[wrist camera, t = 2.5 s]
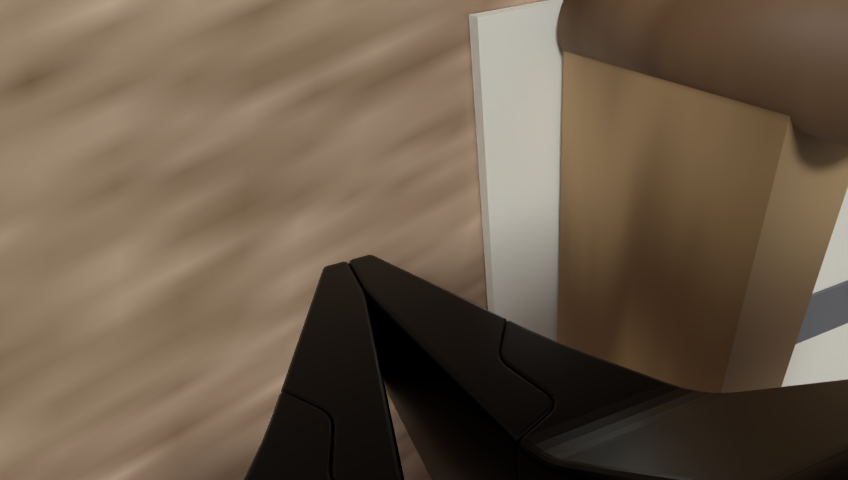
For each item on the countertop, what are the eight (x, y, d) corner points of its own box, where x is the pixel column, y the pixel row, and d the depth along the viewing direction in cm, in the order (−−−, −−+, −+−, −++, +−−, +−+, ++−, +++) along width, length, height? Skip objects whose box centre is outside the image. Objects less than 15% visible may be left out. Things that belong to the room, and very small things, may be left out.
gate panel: (604, 367, 16) (767, 539, 11) (551, 387, 15) (698, 574, 11) (639, -40, 10) (991, -28, 6) (558, -25, 10) (867, -1, 5)
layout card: (833, 414, 25) (844, 422, 24) (504, 565, 21) (510, 578, 20) (1045, -91, 14) (1071, -93, 14) (468, 15, 10) (479, 17, 10)
